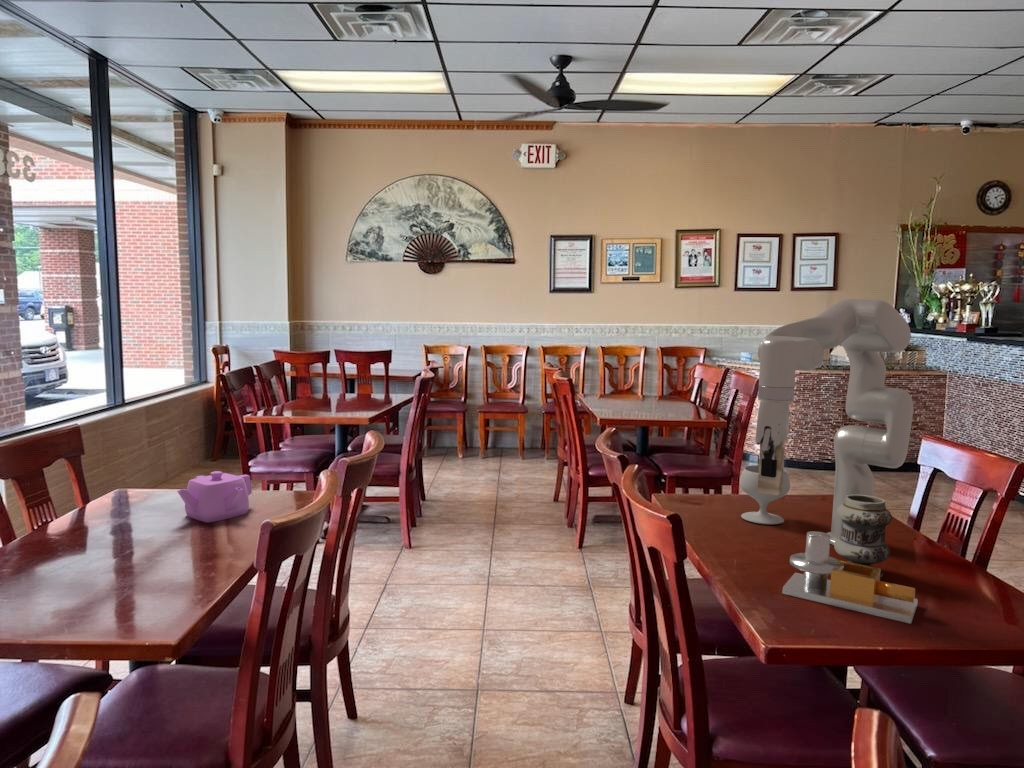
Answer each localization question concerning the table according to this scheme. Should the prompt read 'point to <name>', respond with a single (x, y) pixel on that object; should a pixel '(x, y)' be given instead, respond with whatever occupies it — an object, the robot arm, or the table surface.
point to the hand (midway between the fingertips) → (770, 473)
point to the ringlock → (847, 583)
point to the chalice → (761, 496)
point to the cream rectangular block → (776, 483)
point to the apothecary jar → (863, 530)
